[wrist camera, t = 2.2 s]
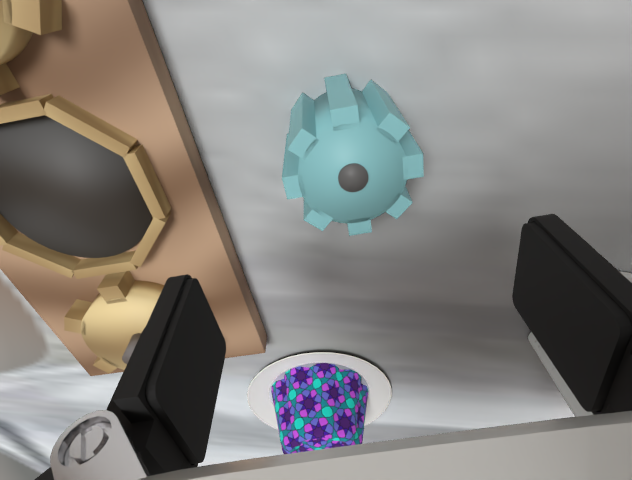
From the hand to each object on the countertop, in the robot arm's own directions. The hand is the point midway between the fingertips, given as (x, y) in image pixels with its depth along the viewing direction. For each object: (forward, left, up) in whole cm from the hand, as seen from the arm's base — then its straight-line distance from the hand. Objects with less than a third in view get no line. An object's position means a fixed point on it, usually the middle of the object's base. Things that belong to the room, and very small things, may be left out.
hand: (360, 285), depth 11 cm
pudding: (+21, -5, -11) cm, 25 cm away
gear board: (-1, -14, -11) cm, 17 cm away
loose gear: (-1, 0, -11) cm, 11 cm away
